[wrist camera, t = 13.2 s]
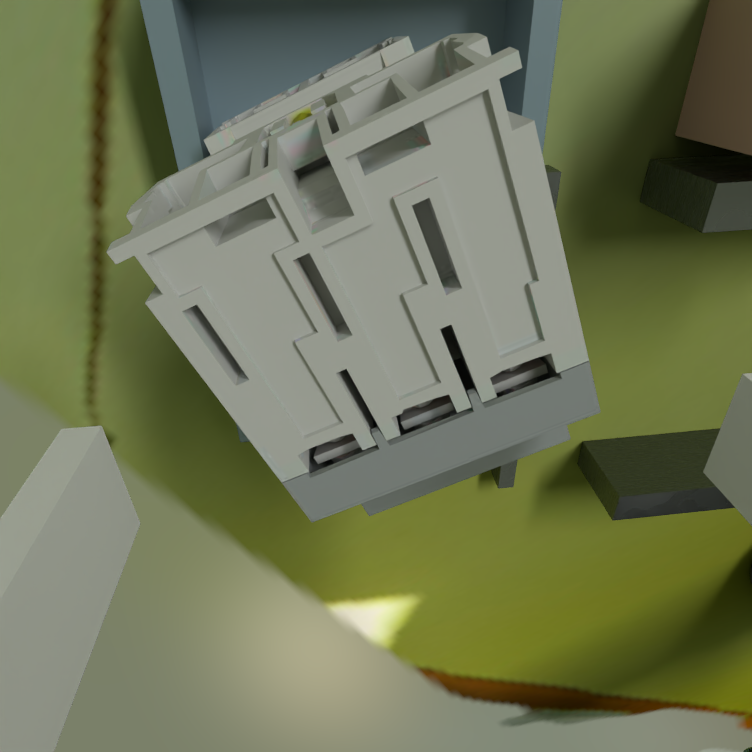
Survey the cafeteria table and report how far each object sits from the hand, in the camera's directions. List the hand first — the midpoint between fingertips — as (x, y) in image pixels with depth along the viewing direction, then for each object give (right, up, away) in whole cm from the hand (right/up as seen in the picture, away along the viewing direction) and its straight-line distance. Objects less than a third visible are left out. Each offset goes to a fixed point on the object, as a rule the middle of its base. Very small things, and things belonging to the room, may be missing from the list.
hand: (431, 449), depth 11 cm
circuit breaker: (-1, +8, +14) cm, 16 cm away
